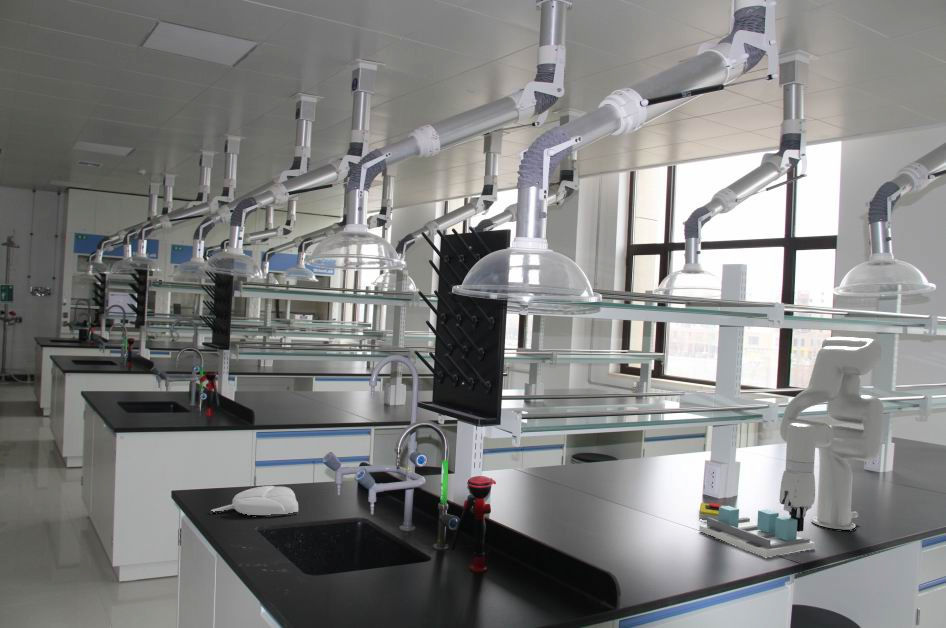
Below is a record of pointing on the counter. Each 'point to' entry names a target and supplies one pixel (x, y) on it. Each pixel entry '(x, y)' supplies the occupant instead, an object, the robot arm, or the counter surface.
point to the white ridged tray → (754, 537)
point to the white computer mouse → (264, 501)
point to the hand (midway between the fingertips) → (796, 530)
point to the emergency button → (709, 511)
